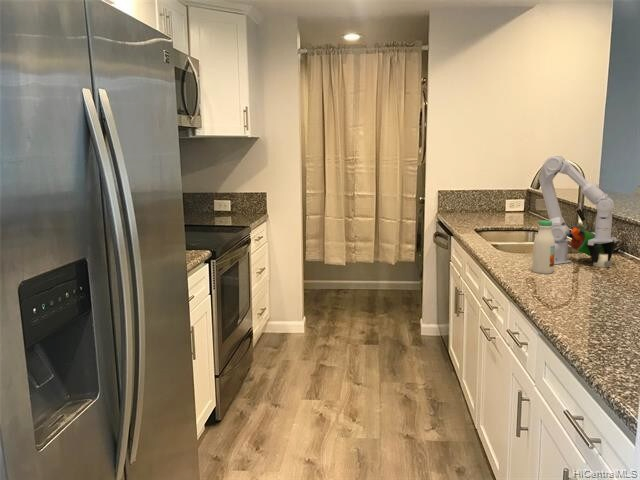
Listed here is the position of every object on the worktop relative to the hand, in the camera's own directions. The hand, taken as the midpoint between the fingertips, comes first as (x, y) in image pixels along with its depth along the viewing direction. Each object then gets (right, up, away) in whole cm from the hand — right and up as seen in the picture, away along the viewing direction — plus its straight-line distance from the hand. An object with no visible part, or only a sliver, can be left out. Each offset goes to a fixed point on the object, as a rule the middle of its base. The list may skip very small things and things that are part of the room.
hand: (600, 261), depth 216 cm
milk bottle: (-27, -4, -8) cm, 28 cm away
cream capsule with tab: (0, -2, 0) cm, 2 cm away
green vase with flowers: (+6, +4, +10) cm, 12 cm away
